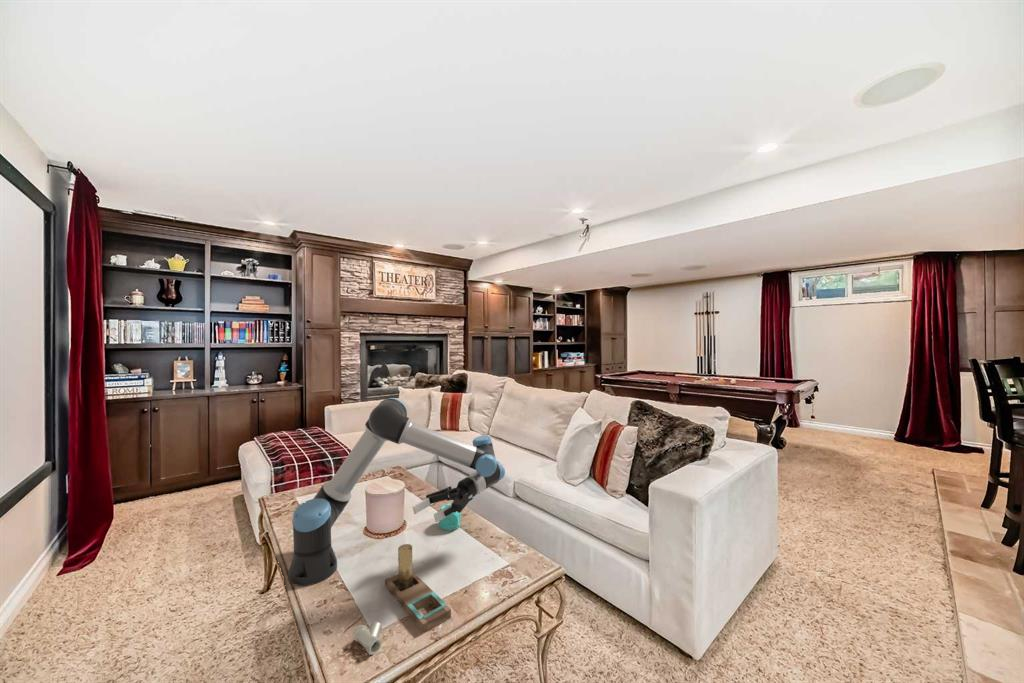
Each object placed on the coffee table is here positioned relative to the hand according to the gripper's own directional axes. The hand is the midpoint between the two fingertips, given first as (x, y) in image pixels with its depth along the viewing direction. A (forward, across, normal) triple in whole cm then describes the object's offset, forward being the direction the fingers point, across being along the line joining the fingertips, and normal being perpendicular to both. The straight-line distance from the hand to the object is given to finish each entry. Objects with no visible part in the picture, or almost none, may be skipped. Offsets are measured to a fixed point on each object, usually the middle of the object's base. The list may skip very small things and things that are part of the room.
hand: (424, 514), depth 136 cm
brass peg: (+12, 0, -19) cm, 23 cm away
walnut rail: (+13, -7, -20) cm, 25 cm away
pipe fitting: (+29, -12, -19) cm, 37 cm away
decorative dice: (-22, +24, -22) cm, 39 cm away
